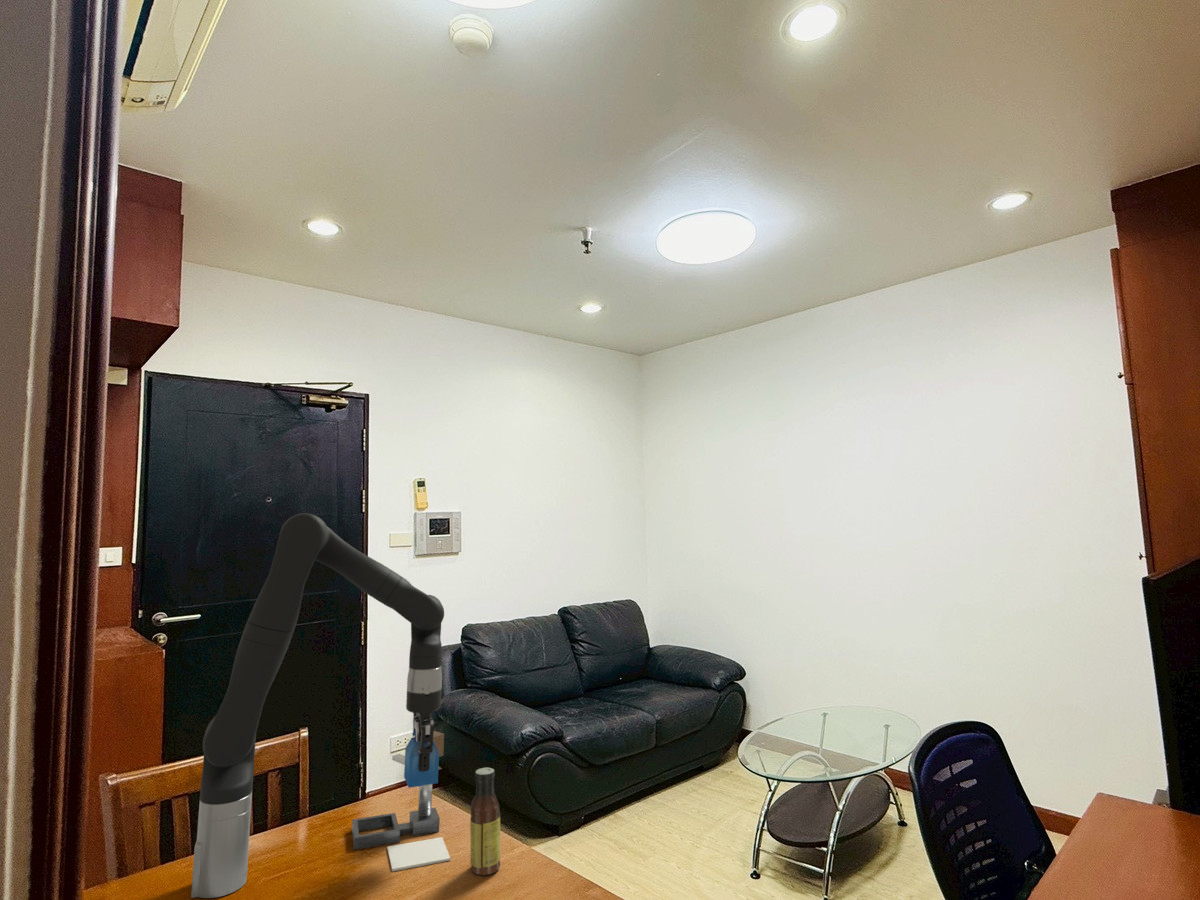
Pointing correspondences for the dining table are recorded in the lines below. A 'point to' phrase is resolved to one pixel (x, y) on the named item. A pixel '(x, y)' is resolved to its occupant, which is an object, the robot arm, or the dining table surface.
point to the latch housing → (392, 828)
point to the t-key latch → (425, 790)
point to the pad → (417, 854)
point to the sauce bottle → (485, 825)
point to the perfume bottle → (412, 762)
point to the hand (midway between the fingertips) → (421, 764)
